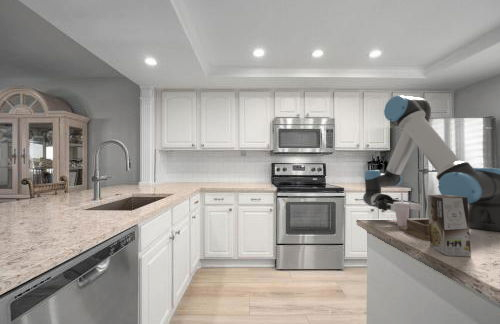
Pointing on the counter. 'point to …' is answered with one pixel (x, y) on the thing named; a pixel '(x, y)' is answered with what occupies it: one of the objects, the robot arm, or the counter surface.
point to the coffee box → (449, 224)
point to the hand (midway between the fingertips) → (407, 208)
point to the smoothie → (402, 212)
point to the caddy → (418, 228)
